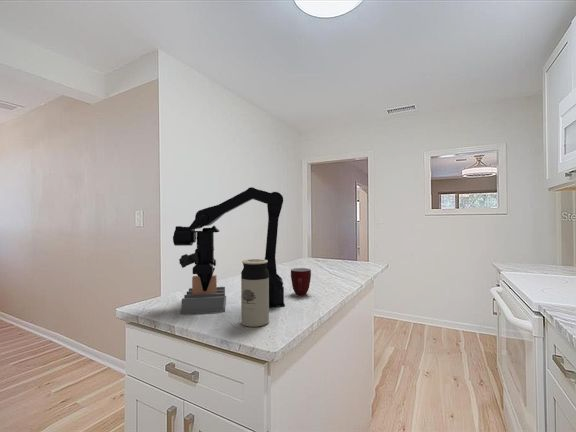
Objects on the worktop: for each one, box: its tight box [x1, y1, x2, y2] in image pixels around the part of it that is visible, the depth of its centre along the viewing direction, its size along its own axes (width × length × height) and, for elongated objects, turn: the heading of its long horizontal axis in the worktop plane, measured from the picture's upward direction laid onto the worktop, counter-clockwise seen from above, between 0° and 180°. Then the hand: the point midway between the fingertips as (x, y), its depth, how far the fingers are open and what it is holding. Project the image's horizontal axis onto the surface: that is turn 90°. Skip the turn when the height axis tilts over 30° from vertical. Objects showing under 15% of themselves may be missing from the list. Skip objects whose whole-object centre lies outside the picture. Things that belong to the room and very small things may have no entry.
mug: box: [290, 267, 312, 297], centre depth 114 cm, size 11×8×10 cm
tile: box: [191, 274, 218, 294], centre depth 101 cm, size 8×2×8 cm, turn 100°
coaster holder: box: [179, 286, 227, 315], centre depth 101 cm, size 14×16×5 cm
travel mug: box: [240, 258, 270, 328], centre depth 84 cm, size 8×8×18 cm
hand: (205, 290), depth 101 cm, fingers closed on tile, 2 cm apart
